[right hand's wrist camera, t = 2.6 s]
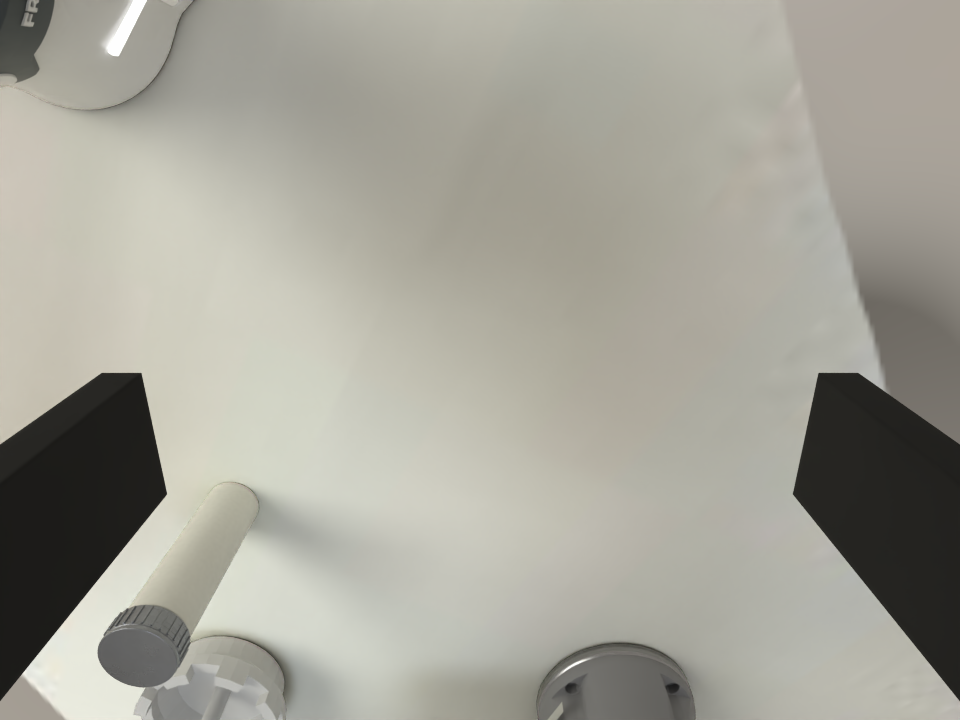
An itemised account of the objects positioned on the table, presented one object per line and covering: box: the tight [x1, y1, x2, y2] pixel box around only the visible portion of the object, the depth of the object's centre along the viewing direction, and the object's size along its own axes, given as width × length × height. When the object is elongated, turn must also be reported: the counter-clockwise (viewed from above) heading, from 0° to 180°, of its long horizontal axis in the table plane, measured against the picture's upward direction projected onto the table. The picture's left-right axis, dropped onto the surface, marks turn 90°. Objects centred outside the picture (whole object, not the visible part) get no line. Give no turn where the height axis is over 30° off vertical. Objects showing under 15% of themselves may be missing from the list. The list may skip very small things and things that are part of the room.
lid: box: [98, 605, 191, 687], centre depth 41 cm, size 5×5×2 cm
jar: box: [129, 482, 259, 636], centre depth 48 cm, size 4×4×16 cm
